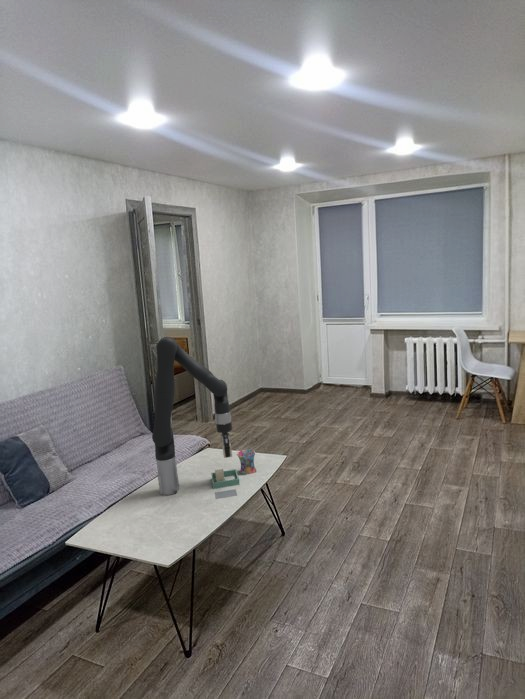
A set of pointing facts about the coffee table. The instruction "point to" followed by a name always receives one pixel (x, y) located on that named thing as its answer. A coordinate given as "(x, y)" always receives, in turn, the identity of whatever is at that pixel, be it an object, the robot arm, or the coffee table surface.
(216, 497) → the slate board
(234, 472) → the green bin
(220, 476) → the block
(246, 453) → the floral patterned vase
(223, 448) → the stone right
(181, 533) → the coffee table surface
